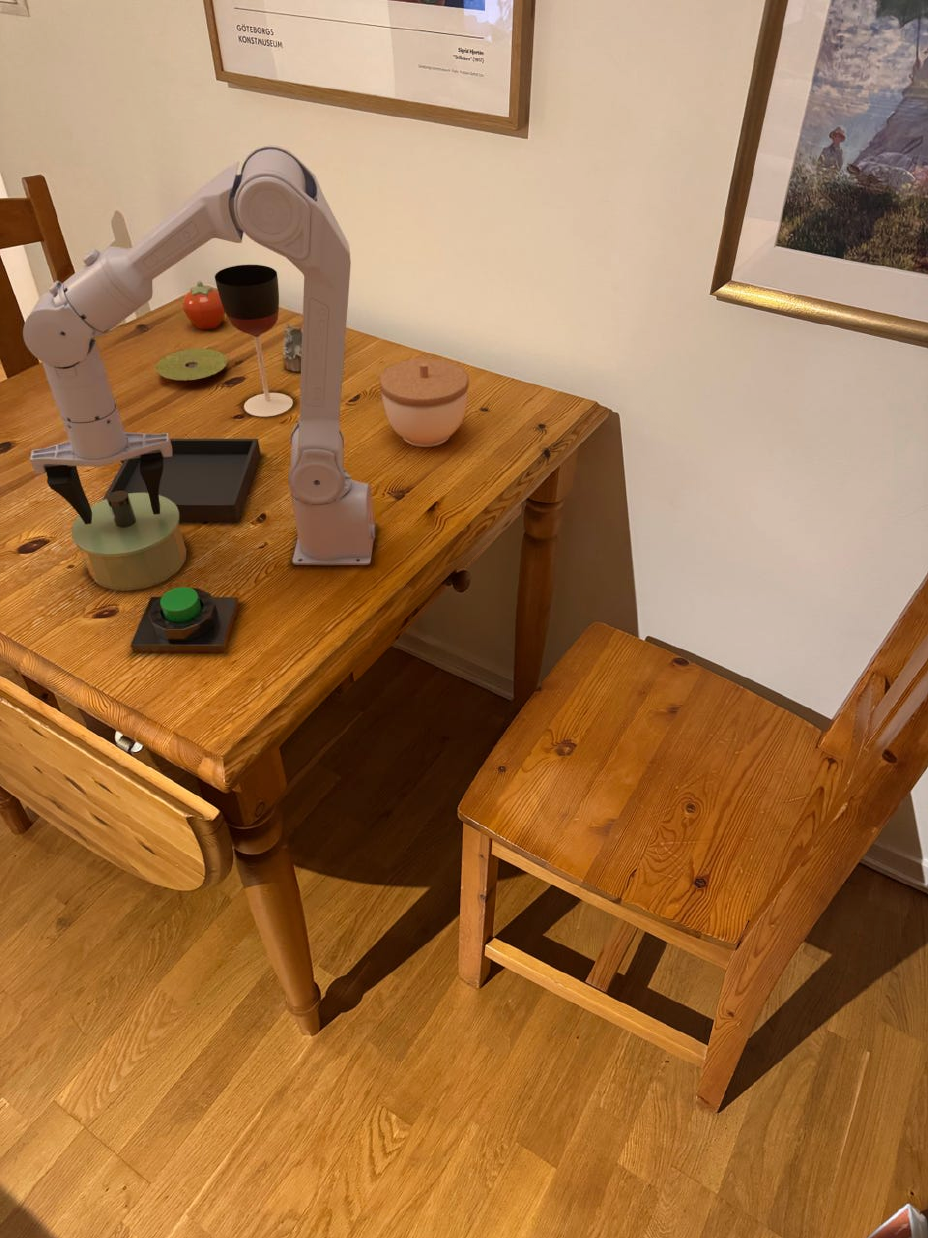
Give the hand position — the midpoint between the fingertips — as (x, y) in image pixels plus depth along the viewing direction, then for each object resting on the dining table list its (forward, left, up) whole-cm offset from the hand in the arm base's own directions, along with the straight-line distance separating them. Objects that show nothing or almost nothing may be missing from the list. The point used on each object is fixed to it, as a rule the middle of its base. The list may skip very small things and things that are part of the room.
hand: (123, 514), depth 101 cm
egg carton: (-13, -55, -7) cm, 57 cm away
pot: (0, 0, -7) cm, 7 cm away
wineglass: (-9, -39, -7) cm, 41 cm away
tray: (-2, -16, -7) cm, 18 cm away
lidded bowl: (-34, -30, -7) cm, 46 cm away
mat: (+5, -49, -7) cm, 50 cm away
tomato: (+7, -68, -7) cm, 69 cm away
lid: (0, 0, -2) cm, 2 cm away
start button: (-9, +12, -4) cm, 16 cm away
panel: (-9, +12, -7) cm, 17 cm away
